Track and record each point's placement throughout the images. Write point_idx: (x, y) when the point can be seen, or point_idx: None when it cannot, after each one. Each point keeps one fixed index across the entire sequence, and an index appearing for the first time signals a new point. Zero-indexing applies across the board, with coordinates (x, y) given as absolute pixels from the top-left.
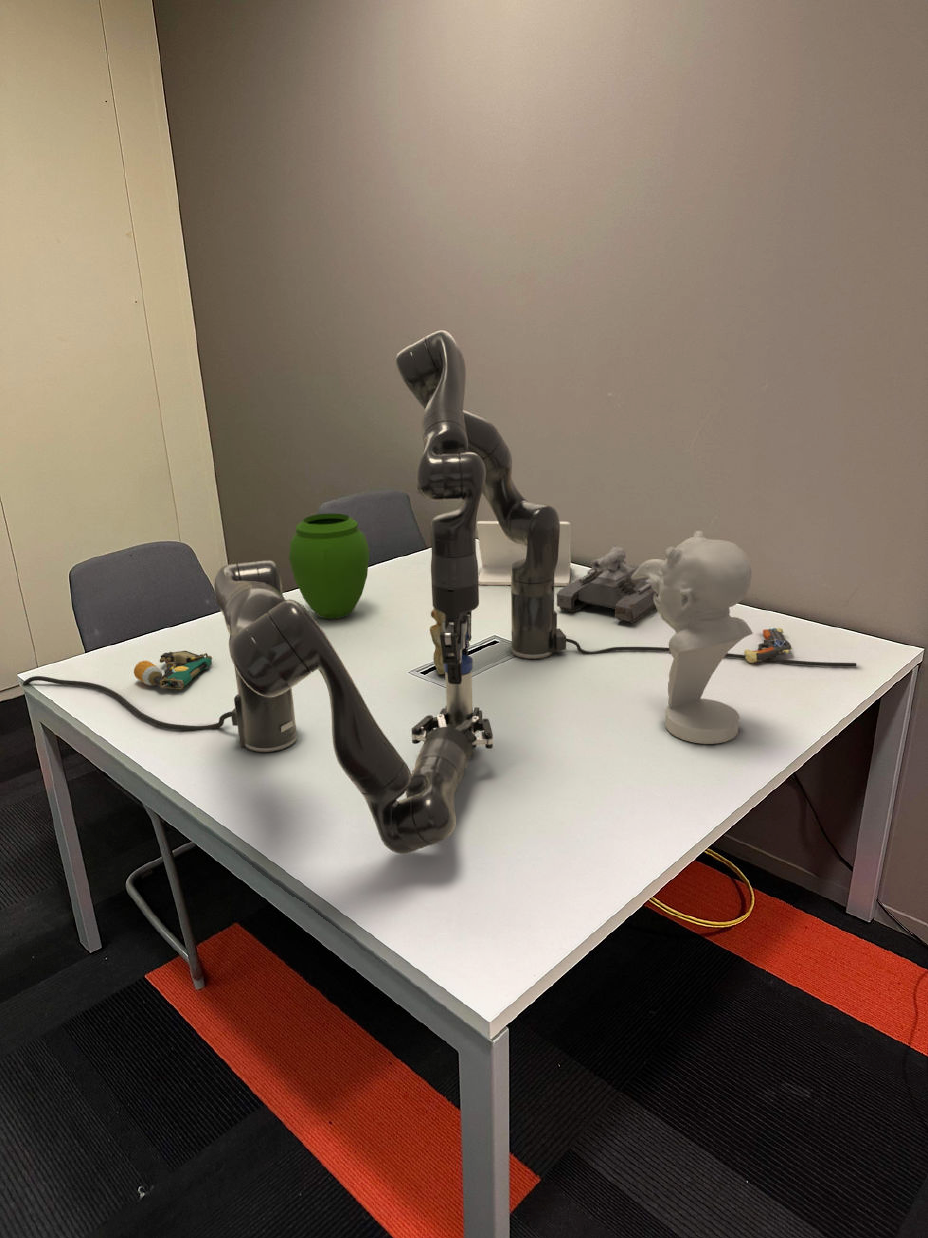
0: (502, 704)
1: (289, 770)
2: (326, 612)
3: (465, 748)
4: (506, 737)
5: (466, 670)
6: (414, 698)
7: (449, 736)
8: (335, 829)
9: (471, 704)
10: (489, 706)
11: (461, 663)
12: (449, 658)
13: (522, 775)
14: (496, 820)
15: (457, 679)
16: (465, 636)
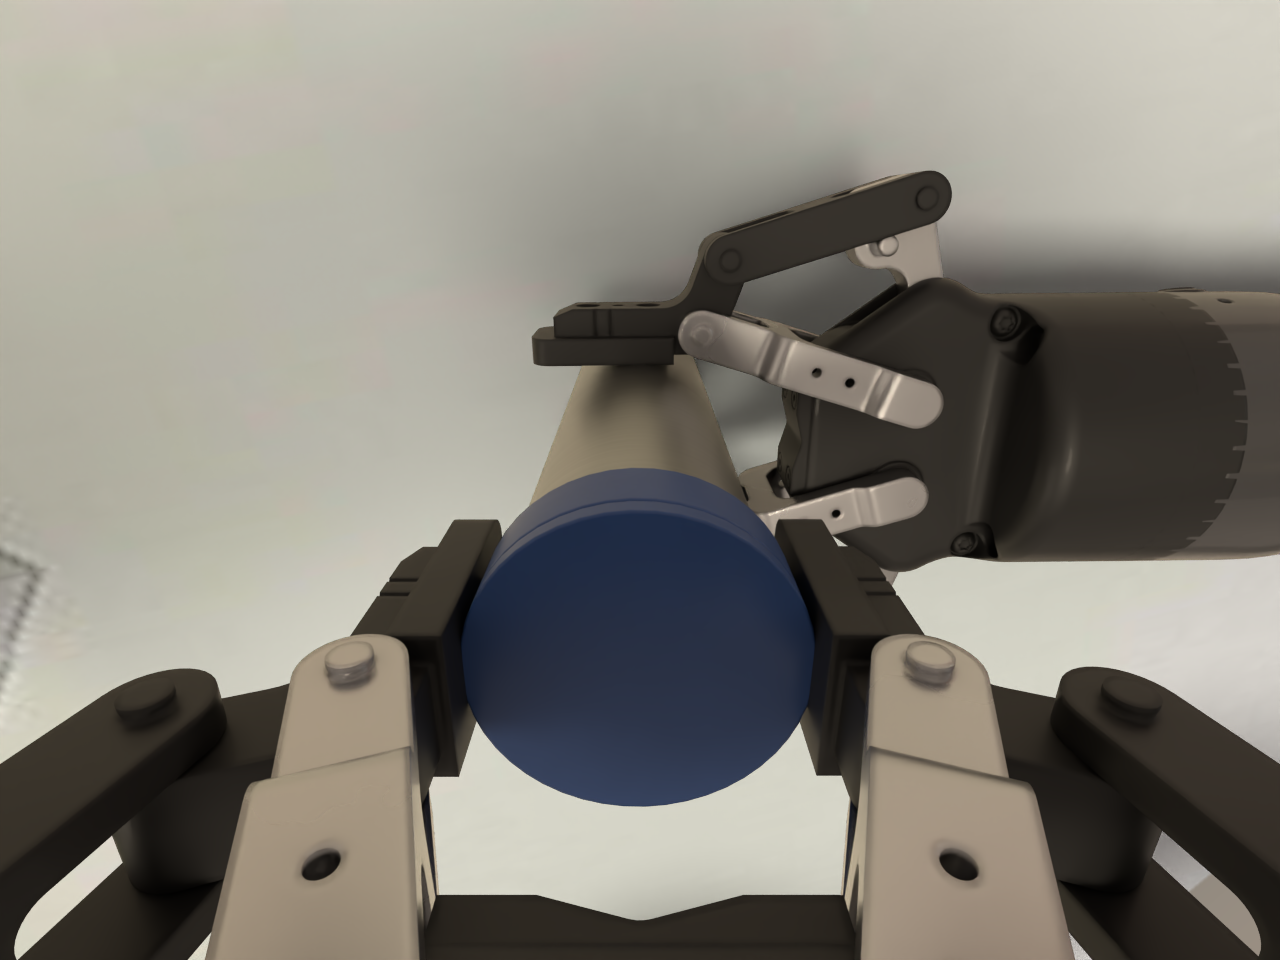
0: (87, 264)
1: (827, 893)
2: None
3: (1155, 315)
4: (442, 180)
5: (758, 523)
6: None
7: (1195, 434)
8: (1189, 683)
9: (655, 383)
10: (139, 331)
11: (827, 623)
12: (1156, 843)
13: (817, 24)
14: (1216, 101)
15: (875, 567)
16: (870, 945)
